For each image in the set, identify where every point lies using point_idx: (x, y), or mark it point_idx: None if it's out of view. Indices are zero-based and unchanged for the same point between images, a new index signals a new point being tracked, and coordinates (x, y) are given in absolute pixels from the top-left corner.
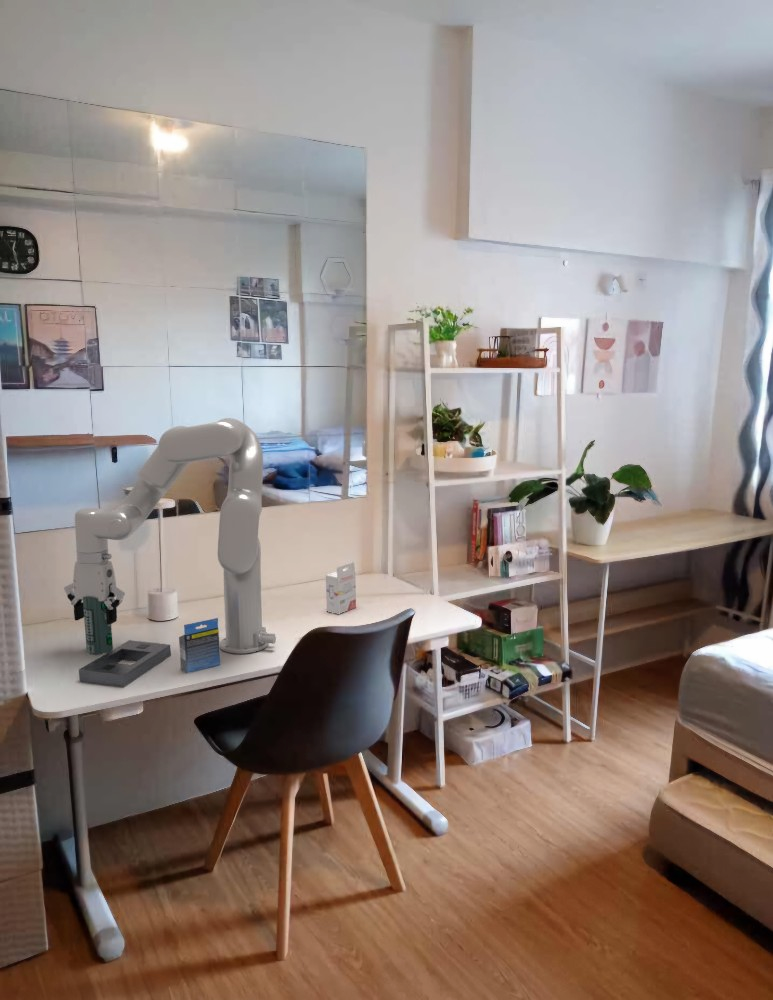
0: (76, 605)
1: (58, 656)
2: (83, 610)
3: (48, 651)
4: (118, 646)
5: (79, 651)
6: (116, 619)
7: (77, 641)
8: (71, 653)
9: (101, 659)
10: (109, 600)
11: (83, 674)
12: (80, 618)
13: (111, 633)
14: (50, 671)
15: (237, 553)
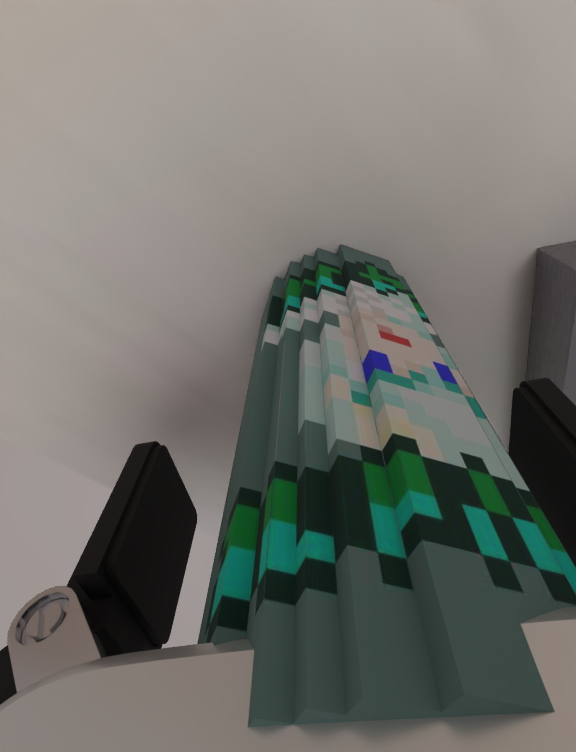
0: (145, 647)
1: (212, 455)
2: (146, 503)
3: (109, 436)
4: (562, 389)
5: (244, 377)
6: (552, 383)
7: (81, 275)
8: (232, 410)
9: None
10: (551, 554)
11: None
12: (183, 488)
13: (430, 325)
14: None
15: None
